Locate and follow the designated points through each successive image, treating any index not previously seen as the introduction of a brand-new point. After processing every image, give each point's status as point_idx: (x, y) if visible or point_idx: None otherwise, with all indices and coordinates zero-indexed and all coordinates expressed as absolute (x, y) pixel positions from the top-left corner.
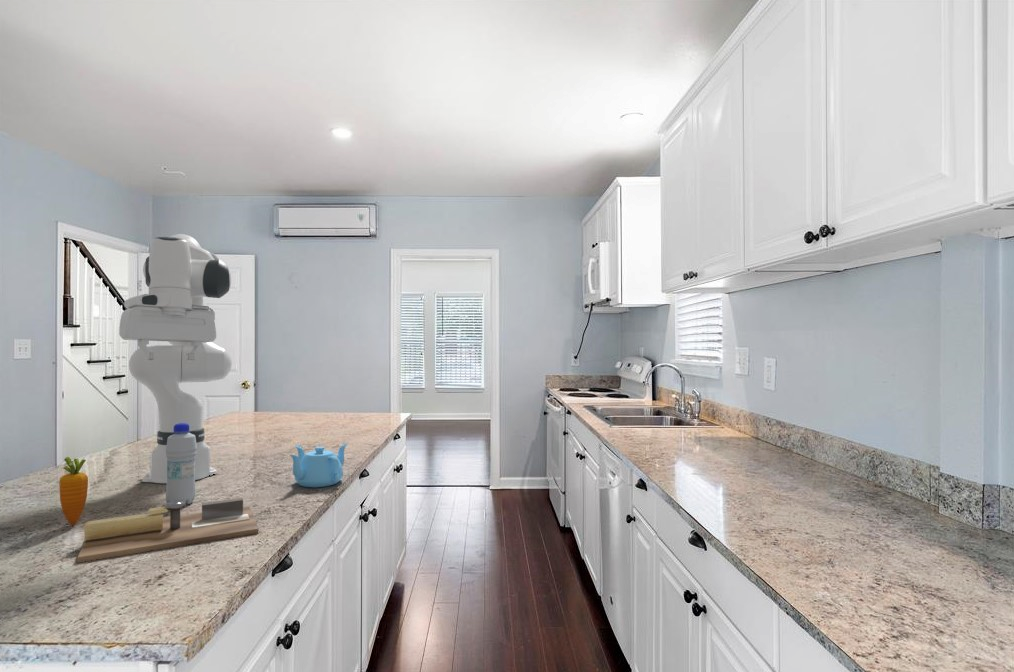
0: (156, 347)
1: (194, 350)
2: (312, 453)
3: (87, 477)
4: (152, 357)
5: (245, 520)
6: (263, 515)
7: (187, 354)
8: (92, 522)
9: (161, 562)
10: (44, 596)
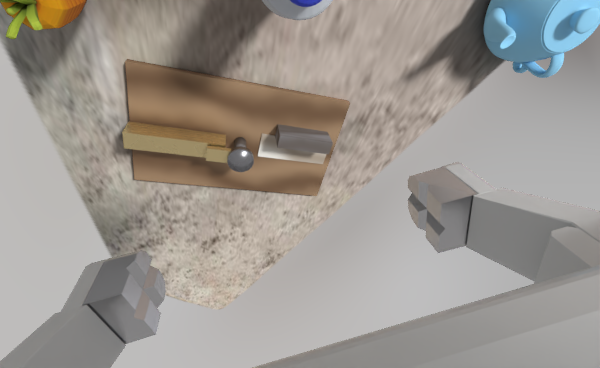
0: None
1: (492, 250)
2: (566, 11)
3: (66, 9)
4: (154, 299)
5: (317, 163)
6: (349, 136)
7: (434, 208)
8: (132, 141)
9: (217, 214)
10: (125, 234)
